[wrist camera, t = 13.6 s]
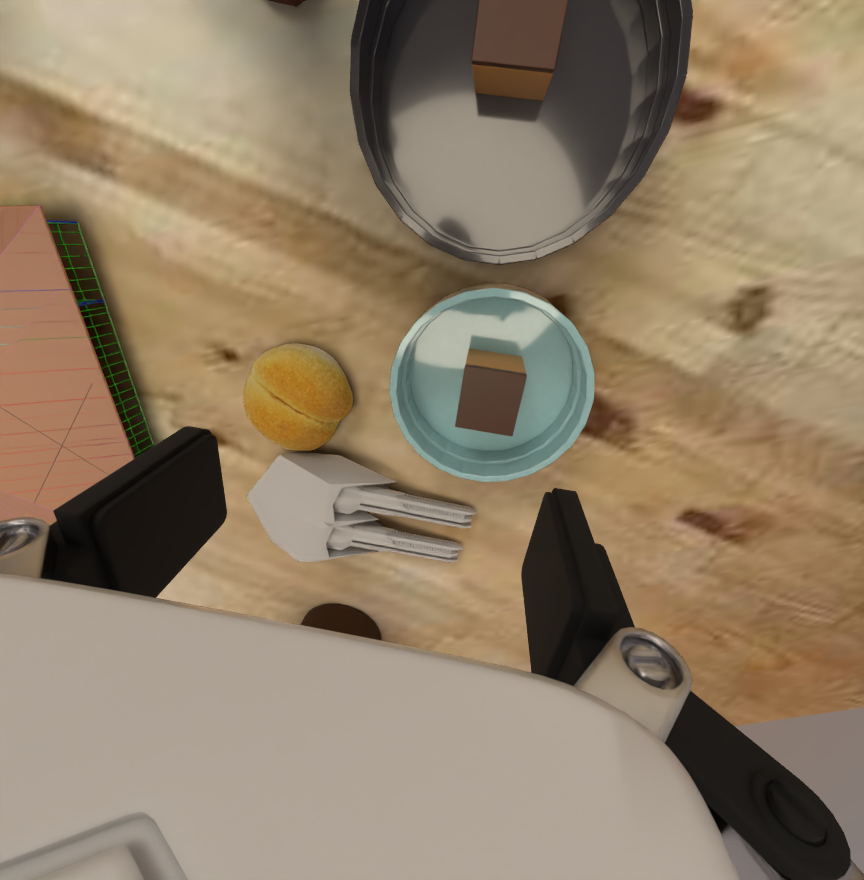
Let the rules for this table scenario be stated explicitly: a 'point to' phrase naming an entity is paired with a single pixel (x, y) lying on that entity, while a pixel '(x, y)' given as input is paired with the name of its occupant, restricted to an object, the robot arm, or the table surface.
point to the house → (50, 377)
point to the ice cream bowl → (289, 2)
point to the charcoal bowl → (513, 122)
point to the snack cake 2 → (491, 392)
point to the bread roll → (297, 396)
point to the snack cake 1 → (516, 46)
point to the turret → (345, 511)
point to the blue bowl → (502, 331)
